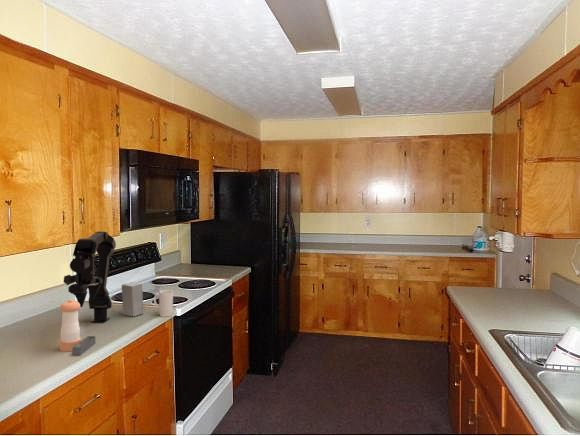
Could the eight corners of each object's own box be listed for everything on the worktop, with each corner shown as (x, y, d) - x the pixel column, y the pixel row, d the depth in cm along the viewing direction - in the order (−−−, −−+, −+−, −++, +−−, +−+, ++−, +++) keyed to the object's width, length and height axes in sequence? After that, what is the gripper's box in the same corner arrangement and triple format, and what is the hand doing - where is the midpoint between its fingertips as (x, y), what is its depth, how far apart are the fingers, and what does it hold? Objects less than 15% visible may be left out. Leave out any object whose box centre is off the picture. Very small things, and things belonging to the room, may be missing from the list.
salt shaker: (60, 353, 154) (61, 303, 152) (58, 346, 159) (58, 298, 158) (82, 349, 158) (82, 300, 157) (78, 343, 164) (79, 296, 163)
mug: (175, 313, 207) (175, 290, 207) (168, 317, 201) (169, 293, 200) (157, 312, 210) (157, 289, 209) (150, 315, 203) (150, 292, 202)
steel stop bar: (87, 343, 164) (88, 336, 164) (95, 343, 164) (95, 336, 164) (72, 355, 152) (72, 347, 152) (80, 355, 152) (80, 347, 152)
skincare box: (143, 314, 205) (144, 283, 204) (131, 317, 199) (132, 285, 198) (132, 311, 209) (133, 281, 208) (120, 314, 203) (121, 283, 202)
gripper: (78, 263, 182) (78, 298, 183) (55, 271, 164) (55, 309, 165) (103, 264, 183) (103, 298, 184) (83, 272, 164) (82, 310, 165)
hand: (86, 304), depth 174 cm, fingers open, 9 cm apart
